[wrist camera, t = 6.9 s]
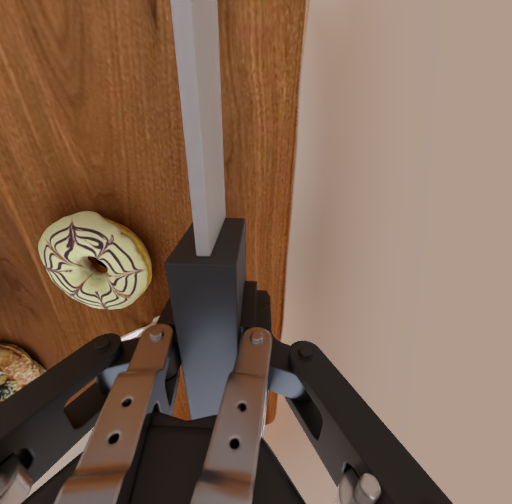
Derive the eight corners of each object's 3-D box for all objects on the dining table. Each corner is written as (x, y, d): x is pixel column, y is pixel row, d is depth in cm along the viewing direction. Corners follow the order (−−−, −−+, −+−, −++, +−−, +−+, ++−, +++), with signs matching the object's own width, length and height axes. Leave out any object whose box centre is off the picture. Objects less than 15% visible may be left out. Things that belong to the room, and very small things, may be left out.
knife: (245, -151, 7) (221, -490, 3) (245, 350, 16) (239, 423, 12) (160, -152, 7) (33, -488, 3) (208, 348, 16) (190, 422, 12)
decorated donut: (86, 185, 25) (58, 195, 21) (176, 254, 28) (164, 272, 25) (42, 253, 28) (13, 271, 25) (127, 307, 31) (110, 329, 28)
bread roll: (-49, 360, 36) (-87, 392, 32) (3, 320, 35) (-30, 347, 30) (24, 398, 41) (-1, 430, 36) (73, 364, 39) (53, 394, 35)
